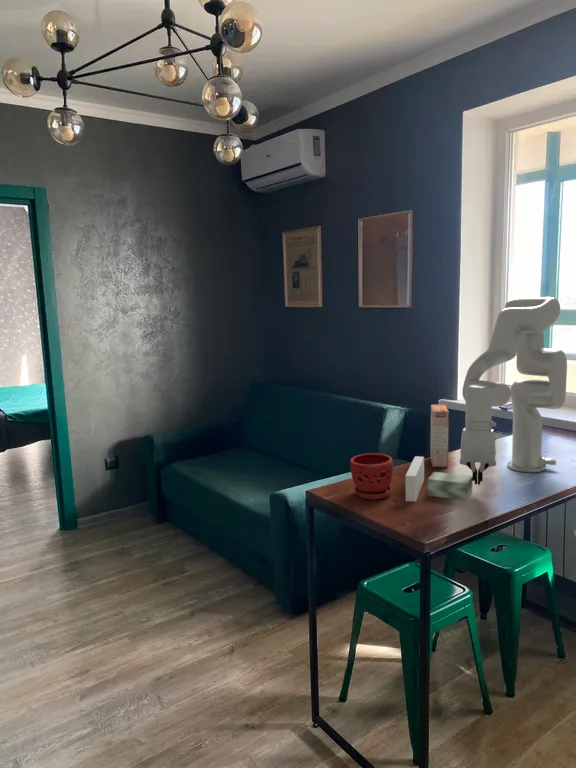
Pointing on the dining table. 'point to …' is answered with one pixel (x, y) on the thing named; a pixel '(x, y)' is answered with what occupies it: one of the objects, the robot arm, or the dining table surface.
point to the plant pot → (372, 475)
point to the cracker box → (439, 435)
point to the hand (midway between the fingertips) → (477, 483)
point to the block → (450, 486)
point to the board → (414, 478)
